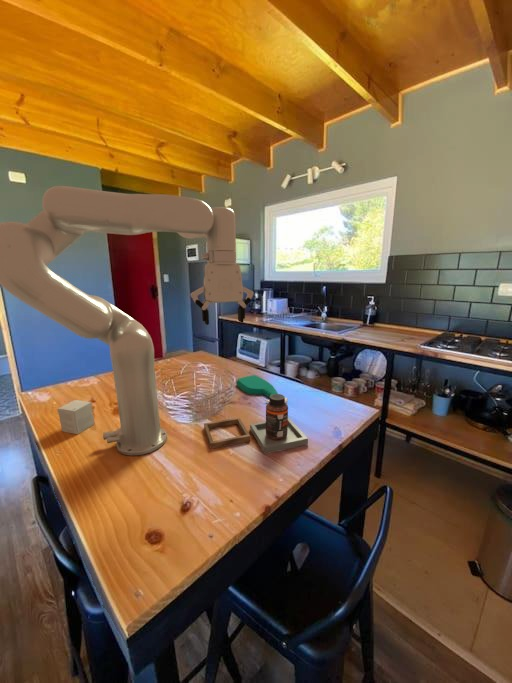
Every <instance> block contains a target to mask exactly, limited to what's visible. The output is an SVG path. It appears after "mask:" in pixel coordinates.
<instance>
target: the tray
mask: <svg viewBox="0 0 512 683" xmlns="http://www.w3.org/2000/svg"><path fill="white" fill-rule="evenodd" d="M249 430H250V432H251V434H252V435H253V436H254V438H255V440H256V442H257V443H258V445H259V447H260V448H261V450H262V451H263V453H264V454H265V455H266V454H272V453H275V452H280V451H284V450H285V451H286V450H289V449H290V450H291V449H294V448H299V447H302V446H307V445H309V444H308V443H309V437H307V436H306V434H305V433H304V432H303V431H302V430H301V429H300V428H299V427H298V426H297V425H296V423H295V422H294V421H293V420H292V419H291V418H290V417H289V416H288V430H287V431H288V432H287V436H286V437H285V438H283V439H281V440H274V439H271V438H269V437H268V436H267V435H266V420H264V421H260V422H254V423H250V424H249Z"/></svg>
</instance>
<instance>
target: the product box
mask: <svg viewBox="0 0 512 683" xmlns="http://www.w3.org/2000/svg"><path fill="white" fill-rule="evenodd" d="M57 413H58V417H59V422H60V428H61V432H63V433H69V434H75V435H79V434H81V433H83V432H84V431H86V430H87V429H89V428H91V427H92V426H94V425H95V417H94V412H93V406H92V402H91V401H87V400H86V401H85V400H80V399H79V400H78V399H73V400H72V401H70V402H68V403H67V404H64V405H62V406H60V407H58V408H57Z"/></svg>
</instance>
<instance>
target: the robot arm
mask: <svg viewBox="0 0 512 683" xmlns="http://www.w3.org/2000/svg"><path fill="white" fill-rule="evenodd" d="M41 202H42V203H41V204H42V211H40V212H38V214H37V215H36V216H34V217H32V219H31V220H29V221H28V222H26V223H23V222H19V221H4V222H0V286H2V288H3V289H5V290H6V291H7V292H8V293H9V294H11V295H12V296H14V297H15V298H17V299H18V300H20V301H21V302H23V303H24V304H26V305H28V306H30V307H32V308H33V309H35V310H37V311H38V312H39V313H41V314H43V315H44V316H46V317H47V318H49V319H50V320H52V321H54V322H56V323H57V324H59V325H61V326H63V327H64V328H66V329H68V330H69V331H70V332H72V333H74V334H75V335H77V336H79V337H81V338H84V339H89V340H93V339H97V340H100V342H103V343H104V344H106V345H107V346H109V355H110V360H111V366H112V373H113V381H114V388H115V393H116V400H117V407H118V408H117V409H118V415H119V424H120V428H117V429H115V430H112V431H111V430H110V431H105V432H103V433H102V439H103V440H104V441H106V442H107V444H111V443H115V442H116V444H115V445H116V450H117V451H118V452H119V453H120V454H122V455H125V456H141V455H146V454H149V453H152V452H155V450H158V449H160V447H162V446H163V445H164V444H165V443H166V441H167V440H168V432H167V431H166V429H164V428H163V427H161V422H160V421H161V419H160V410H159V400H158V389H157V383H156V369H155V346H154V343H153V339H152V337H151V334H149V332H148V330H147V329H146V328H145V327H144V326H143V324H142V323H140V322H139V321H137V320H136V319H134V318H133V317H131V316H130V315H129V314H127V313H125V312H124V311H122V310H121V309H119V308H118V307H117V306H115V305H114V304H112V303H110V302H109V301H107V300H106V299H105V298H103V297H100V296H98V295H94V294H92V295H91V294H88V293H86V292H84V291H83V290H81V289H79V288H78V287H77V286H74V285H73V284H72V283H70V282H69V281H68V280H66V279H65V278H63V277H62V276H60V275H59V274H57V273H55V272H54V270H53V271H52V270H51V268H49V267H48V266H47V265H49V264H51V262H52V261H54V260H55V259H56V258H58V257H59V256H60V255H61V254H62V253H63V252H64V251H66V250H67V249H68V248H69V247H70V246H72V245H73V244H75V242H76V241H77V240H79V239H80V238H81V237H82V236H83V235H84V234H85V233H101V234H110V235H111V234H112V235H113V234H114V235H124V236H137V235H142V234H146V233H155V232H156V233H157V232H160V233H161V232H165V233H167V232H168V233H177V234H178V235H179V236H181V237H182V238H184V239H188V240H189V239H199V238H206V251H207V252H205V253H203V254H201V260H205V261H206V262H207V264H205V265H204V272H203V273H204V274H203V286H202V287H200V288H198V289H196V290H194V291H193V292H191V293H190V297H191V299H192V301H194V303H195V305H197V306H198V307H199V308H200V309H201V315H202V316H201V317H202V318H201V319H202V322H204V324H205V325H206V326H208V325H209V324H210V314H209V313H210V312H209V310H208V307H209V306H210V305H211V304H216V303H217V304H220V303H222V304H223V303H237V305H238V307H237V320H238V322H240V323H244V320H245V318H246V309H247V306H248V305H249V304H250V302H251V301H252V298H253V297H254V293H255V292H254V291H253V290H251V289H249V288H247V287H246V286H244V285H243V277H242V270H241V265H240V264H239V263H237V247H236V245H237V239H236V237H237V236H236V234H237V232H236V214H235V211H234V210H233V209H232V208H230V207H226V206H225V207H224V206H214V207H210V205H209V204H207V203H206V202H205V201H203V200H201V199H198V198H194V197H188V196H180V195H173V194H162V193H161V194H160V193H159V194H158V193H156V194H155V193H152V194H147V193H145V194H144V193H123V192H114V191H106V190H100V189H99V190H97V189H91V188H85V187H84V188H83V187H77V186H76V187H75V186H69V185H67V186H66V185H54V186H52V187H49V188H48V189H47V190H46V191H44V194H43V196H42V200H41ZM244 293H245V294H246V297H245V298H244ZM201 294H203V299H204V300H203V302H202V301H200V300H199V298H198V296H199V295H201Z"/></svg>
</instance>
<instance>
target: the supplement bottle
mask: <svg viewBox="0 0 512 683" xmlns="http://www.w3.org/2000/svg"><path fill="white" fill-rule="evenodd" d="M285 398H286V397H285V396H284V395H283V394H281V393H278V394H272V395H271V396H270V398H269V399H268V400H269V401H270V402H267V403H266V406H265V421H266V435H267V436H268V437H269V438H271V439H274V440H281V439H283V438H285V437H286V436H287V432H288V431H287V430H288V417H289V406H288V403H287V402H286V403H285Z"/></svg>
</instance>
